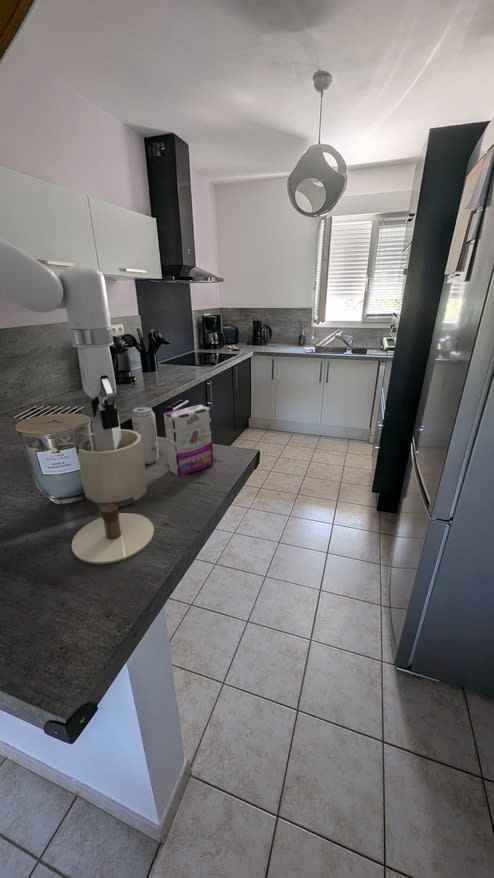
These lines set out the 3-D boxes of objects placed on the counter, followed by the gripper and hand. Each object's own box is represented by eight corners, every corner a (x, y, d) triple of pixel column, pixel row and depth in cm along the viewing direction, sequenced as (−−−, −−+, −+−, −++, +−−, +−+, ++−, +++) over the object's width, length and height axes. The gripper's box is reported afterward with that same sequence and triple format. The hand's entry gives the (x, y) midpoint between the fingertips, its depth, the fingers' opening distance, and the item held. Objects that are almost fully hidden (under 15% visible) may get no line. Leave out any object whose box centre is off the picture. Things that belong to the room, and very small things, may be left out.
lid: (80, 579, 58) (72, 544, 55) (66, 533, 69) (59, 501, 67) (165, 546, 66) (162, 514, 63) (140, 509, 77) (136, 480, 74)
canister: (93, 516, 74) (81, 458, 69) (80, 489, 85) (69, 436, 80) (155, 497, 81) (149, 443, 76) (136, 474, 92) (130, 425, 87)
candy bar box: (203, 459, 100) (200, 403, 94) (214, 465, 97) (211, 407, 90) (168, 471, 93) (162, 412, 87) (178, 478, 90) (173, 417, 84)
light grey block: (121, 438, 82) (115, 396, 78) (115, 450, 76) (108, 405, 72) (105, 439, 81) (98, 397, 78) (97, 451, 75) (89, 406, 71)
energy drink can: (159, 464, 97) (154, 412, 92) (136, 466, 96) (129, 413, 90) (159, 455, 103) (154, 405, 97) (137, 457, 101) (131, 407, 96)
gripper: (64, 335, 75) (79, 414, 81) (80, 344, 61) (97, 438, 68) (101, 332, 78) (113, 409, 85) (124, 341, 65) (136, 430, 72)
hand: (106, 421), depth 76 cm, fingers closed on light grey block, 7 cm apart
